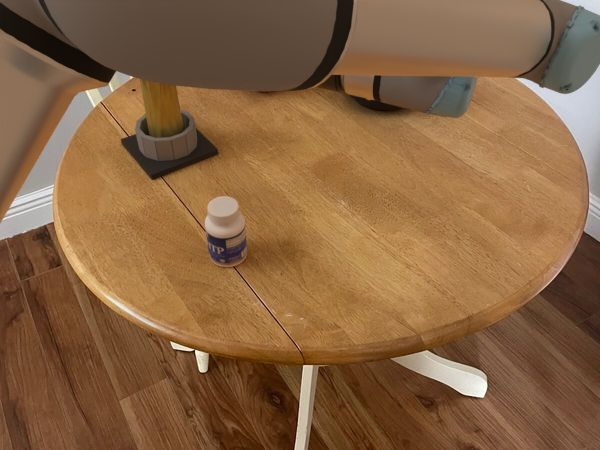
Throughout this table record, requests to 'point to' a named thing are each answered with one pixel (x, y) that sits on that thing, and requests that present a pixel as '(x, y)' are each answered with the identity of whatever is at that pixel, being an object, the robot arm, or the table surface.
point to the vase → (162, 109)
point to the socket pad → (169, 165)
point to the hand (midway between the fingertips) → (204, 32)
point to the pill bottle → (225, 232)
